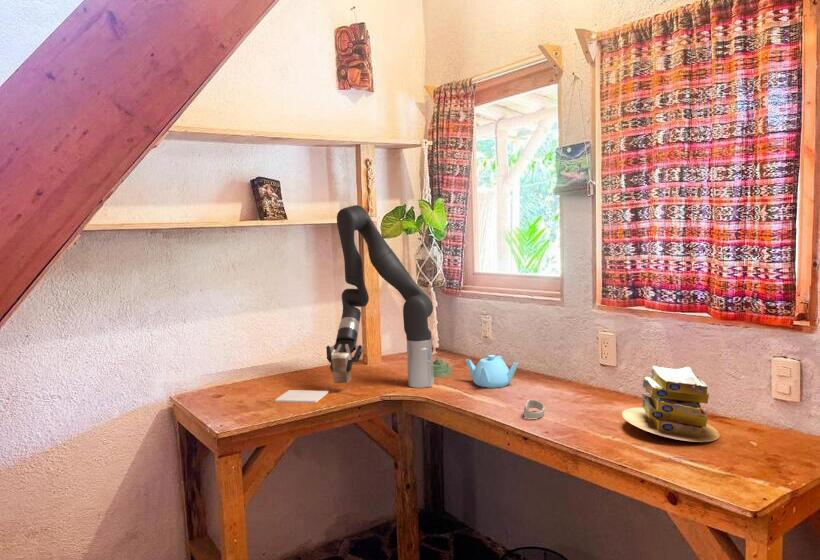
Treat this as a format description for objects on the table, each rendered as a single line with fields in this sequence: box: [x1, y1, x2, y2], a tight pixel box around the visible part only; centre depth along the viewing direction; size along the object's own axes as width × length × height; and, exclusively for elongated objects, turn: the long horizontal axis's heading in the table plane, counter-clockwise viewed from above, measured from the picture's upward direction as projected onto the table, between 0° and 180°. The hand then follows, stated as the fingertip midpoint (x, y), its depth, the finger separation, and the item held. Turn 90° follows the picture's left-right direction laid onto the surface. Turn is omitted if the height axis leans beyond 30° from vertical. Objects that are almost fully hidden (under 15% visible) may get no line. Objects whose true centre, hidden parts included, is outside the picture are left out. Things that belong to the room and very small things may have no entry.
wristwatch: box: [522, 398, 546, 419], centre depth 187 cm, size 9×6×5 cm
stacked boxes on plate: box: [621, 365, 720, 443], centre depth 170 cm, size 25×25×17 cm
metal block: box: [332, 353, 352, 384], centre depth 222 cm, size 5×5×10 cm
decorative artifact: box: [433, 356, 452, 378], centre depth 244 cm, size 10×7×10 cm
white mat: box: [274, 389, 329, 404], centre depth 217 cm, size 15×13×1 cm
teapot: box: [465, 354, 519, 389], centre depth 225 cm, size 15×15×11 cm
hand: (340, 371), depth 220 cm, fingers closed on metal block, 5 cm apart
